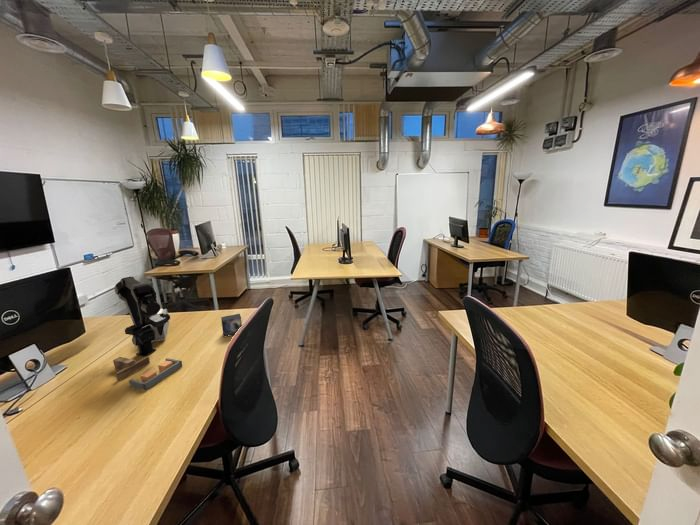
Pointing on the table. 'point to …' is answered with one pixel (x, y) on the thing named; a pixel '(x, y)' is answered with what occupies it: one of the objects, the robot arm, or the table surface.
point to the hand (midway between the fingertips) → (151, 339)
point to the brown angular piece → (128, 366)
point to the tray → (157, 376)
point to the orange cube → (164, 365)
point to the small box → (231, 324)
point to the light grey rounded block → (164, 333)
